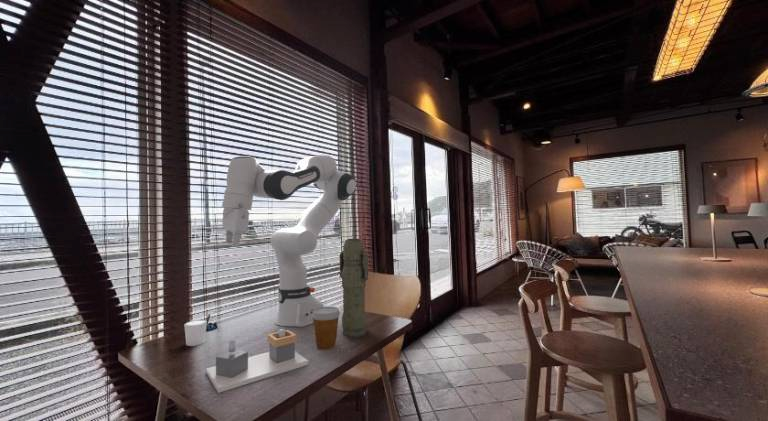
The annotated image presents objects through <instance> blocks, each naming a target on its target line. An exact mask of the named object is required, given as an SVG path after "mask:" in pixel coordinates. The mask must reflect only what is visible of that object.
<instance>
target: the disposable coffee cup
mask: <svg viewBox="0 0 768 421" xmlns="http://www.w3.org/2000/svg"><path fill="white" fill-rule="evenodd" d="M340 315H341V312H340V309H339V308H338V307H336V306H335V307H334V306H324V307H320V308H317V309H314V310H313V313H312V315H311V316H312V318H313V330H314V336H315V344H316V348H317V349H318V350H322V351H324V350H325V351H326V350H331V349H334V348H335V347H337V346H336V344H337V336H338V328H339V317H340Z"/></svg>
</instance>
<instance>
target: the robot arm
mask: <svg viewBox="0 0 768 421" xmlns="http://www.w3.org/2000/svg"><path fill="white" fill-rule="evenodd" d="M357 184H358V183H357V179H356V177H355V176H354V175H352V174H350V173H349V172H345V171H342V170H339V169H338V166H337V162H336V159H334V157H333V156H330V155H327V154H326V155H323V154H321V155H320V154H319V155H313V156H308V157H306V158H303V159H301V160H299V161H298V162H297V163H296V166H295V170H294V171H288V170H285V169H282V170H281V169H280V170H279V169H277V170H267V169H265V168H264V167H263V166H261V165H260V163H259V161H257V158H256V157H254V156H249V155H247V156H246V155H244V156H243V155H237V156H234V157H233V158H232V157H231V160H230V162H229V165H228V169H227V173H226V187H225V190H224V194H223V201H222V204H221V207H222V208H223V210H222V229H224V230H226V231H225V243H226V244H229V245H231V246H232V247H233V248H238V247H239V246H240V242H241V239H242V236H243V235H244V234H247V232H248V229H249V228H248V227H249V219H250V218H249V216H250V213H249V212H250V211H252V209H253V208H252V207H253V201H254V200H253V199H254V197H255V198H256V197H257V198H262V199H263V198H264V199H274V200H279V201H285V200H287V199H289V198H290V197H292V195H293V194H295V193H296V192H297V191H298V190H300V189H302V188H305V187H307V186H309V185H313V186H314V187H315V188H317V189H318V190H322V191H323V193H322V195H321V196H319V198H317V199H316V200H315V201H313V203H311V205H310V206H308V207H307V208H306V209H305V210H304V211H303V212H302V213H301V215H300V221H299V222H298V223H297V225H295V226H293V227H283V228H280V229H277V230H276V231H274V232H273V233H272V235H271V237H270V245H271V247H272V249H273V250H274V253H275V257H276V261H277V264H278V276H279V277H278V278H279V287H278V292H277V293H278V294H277V300H278V310H277V316H276V319H275V324H276V325H277V326H281V327H301V328H303V327H307V326H309V325H312V324H313V325H314V323H313V318H312V316H311V315H312V313H313V310H314V309H317V308H320V307H325V305H324V303H323V302H322V301H321V300H320V299H318V298H317V297H316V296H314V295H313V294H312V293H315V291H316V288H315V287H313V286H308V284H307V281H308V280H307V279H308V278H307V277H308V276H307V275H308V274H307V272H308V271H307V266H306V265H305V263H304V261H303V259H302V256H304V255H308V254H311V253H312V252H314V251H315V249H316V248H317V245H318V237H319V235H320V233H321V232H322V230H323V229H324V228H325V227H326V226H327V225H328V224H329V223H330V221H331V220H332V219H333V218H334V217H335V216H336V214H337V213H338V211H339V210H340V209H341V207H342V201H345V200H347V199H348V198H349V197H351V196H352V195H353V194H354V193H355V192H356V190H357Z"/></svg>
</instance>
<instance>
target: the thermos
mask: <svg viewBox="0 0 768 421" xmlns="http://www.w3.org/2000/svg"><path fill="white" fill-rule="evenodd" d="M364 248H365V247H364V243H363V241H362V239H361V238H347V239H345V240H344V243H343V247H342V249H343V250H342V251H341V252H340V254H339V277H340V278H341V287H342V289H343V293H342V294H343V297H342V298H343V300H342V302H343V304H342V305H343V313H342V314H341V315H342V316H341V324H342V325H341V327H342V336H344V337H346V338H350V339H351V338H352V339H354V338H360V337H363V336H365V335H366V334H367V313H366V309H365V308H366V301H365V299H366V298H365V296H366V294H365V291H366V290H365V287H366V285H367V284H366V283H367V282H366V281H368V280H369V254H368V252H366V251H364V250H365V249H364Z"/></svg>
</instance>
